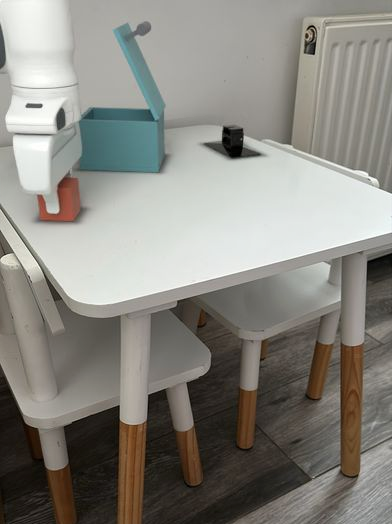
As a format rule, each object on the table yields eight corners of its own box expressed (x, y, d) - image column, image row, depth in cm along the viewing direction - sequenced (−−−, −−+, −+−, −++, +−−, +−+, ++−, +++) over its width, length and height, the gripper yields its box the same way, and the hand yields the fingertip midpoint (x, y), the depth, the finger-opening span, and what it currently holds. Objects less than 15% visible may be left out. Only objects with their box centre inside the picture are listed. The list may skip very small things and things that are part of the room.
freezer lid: (112, 29, 91) (138, 15, 90) (124, 24, 101) (147, 11, 99) (155, 120, 99) (179, 109, 97) (162, 107, 108) (184, 96, 107)
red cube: (40, 220, 83) (35, 187, 80) (49, 208, 87) (45, 176, 84) (73, 221, 83) (69, 188, 80) (81, 209, 87) (78, 177, 84)
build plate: (204, 144, 121) (204, 122, 119) (233, 141, 124) (234, 119, 122) (231, 158, 112) (233, 134, 110) (262, 155, 115) (264, 131, 112)
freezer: (80, 169, 104) (75, 120, 99) (93, 153, 114) (89, 107, 109) (158, 172, 104) (157, 122, 99) (164, 155, 113) (164, 109, 108)
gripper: (46, 92, 85) (57, 182, 93) (-1, 121, 68) (18, 229, 76) (87, 93, 85) (94, 183, 93) (50, 123, 68) (63, 230, 76)
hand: (60, 204), depth 84 cm, fingers closed on red cube, 5 cm apart
